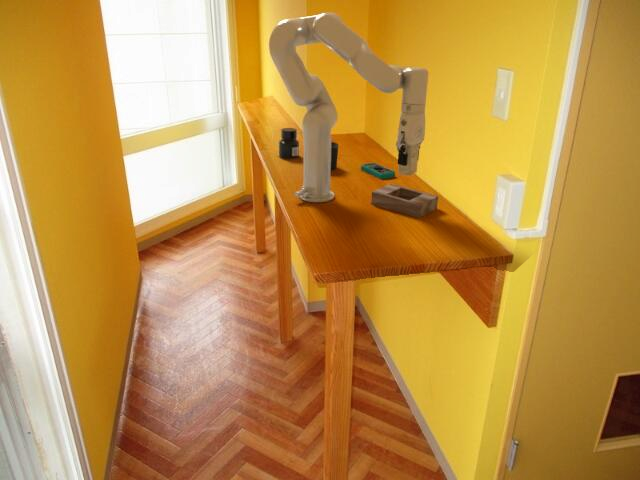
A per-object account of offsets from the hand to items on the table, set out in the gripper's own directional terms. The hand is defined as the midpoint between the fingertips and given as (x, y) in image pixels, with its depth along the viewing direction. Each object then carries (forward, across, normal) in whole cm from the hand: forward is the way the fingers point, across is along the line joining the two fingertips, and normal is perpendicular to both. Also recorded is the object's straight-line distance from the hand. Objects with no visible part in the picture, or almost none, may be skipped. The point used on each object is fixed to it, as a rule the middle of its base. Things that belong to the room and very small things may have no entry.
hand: (408, 162), depth 178 cm
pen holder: (+16, +16, +48) cm, 53 cm away
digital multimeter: (+16, +25, +28) cm, 41 cm away
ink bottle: (+16, +18, +71) cm, 75 cm away
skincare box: (+4, 0, 0) cm, 4 cm away
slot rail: (+16, 0, 0) cm, 16 cm away
